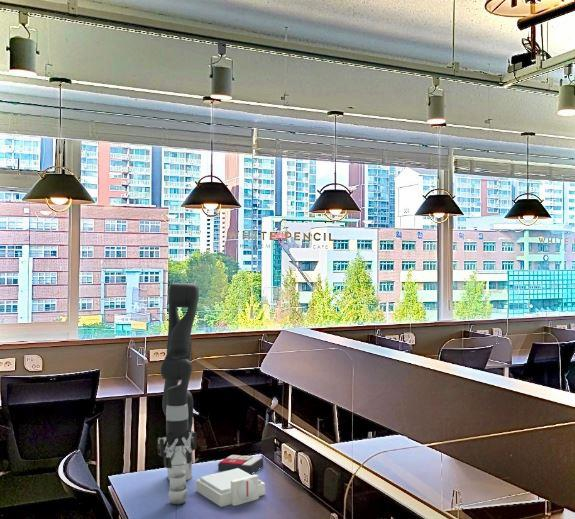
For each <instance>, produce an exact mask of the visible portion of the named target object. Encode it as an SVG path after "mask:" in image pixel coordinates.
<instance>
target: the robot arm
mask: <svg viewBox="0 0 575 519" xmlns="http://www.w3.org/2000/svg"><path fill="white" fill-rule="evenodd" d="M199 294H200V291H199V286H198V284H197V283H196V284H195V283H186V282H171V284H170V285H169V288H168V330H167V343H166V355H165V358H164V359H163V361H162V364H161V366H160V375H161V377H162V379H164V387H163V392H162V393H163V394H162V401H161V402H162V404H161V405H162V411H163V413H164V415H165V417H166V418H165V422H166V423H165V430H166V431H165V432H166V434H165V436H163V437H157V440H156V441H157V455H159V456H160V457H162V458H163V466H164V467H165V468H166V469H167V480H168V481H170V471H169V468H170V455H171V453H172V452H173V449H174V447H175V446H180V445H183V450H182V451H183V453H184V454H185V456H186V458H187V463H186V475H185V479H186V481H188V480H190V479H192V478H193V472H192V471H193V467H192V466H193V463H192V462H193V459H192V458H193V457H192V456H193V453H192V452H193V451H196V450H197V449H198V448H197V446H198V445H197V444H198V443H197V442H198V433H197V432H196V431H193V430H192V427H193V424H194V422H193V421H194V418H193V417H194V398H193V397H194V396H193V395H192V393H191V392H190V391H189V390H188V388H189V383H190V379H191V376H192V372H193V364H192V362H191V358H192V344H193V343H192V339H191V334H192V329H193V325H194V321H195V317H196V312H197V308H198V303H199V296H200V295H199ZM178 308H187V309H186V311H185V314H184V315H183V316H182V317H181V319H180V315H179V311H178ZM180 381H181V382H180ZM179 382H180V383H179ZM165 444H166V445H165ZM164 445H165V446H164Z"/></svg>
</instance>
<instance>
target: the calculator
mask: <svg viewBox="0 0 575 519" xmlns="http://www.w3.org/2000/svg"><path fill="white" fill-rule="evenodd" d="M262 466H264V458H263V457H261V456H259V457H258V456H251V455H240V454H239V455H238V454H231V455H229V456H227V457H226V458H224V459H221V461H219V463H217V467H218V468H217V469H218V471H219V472H224V471H228V470H232V469H236V468H239V469H241V470H243V471H245V472H247V473H248V474H252V473H253V472H255V471H257V470H258V469H259V468H261V467H262ZM262 468H263V467H262ZM262 468H261V469H262ZM259 470H260V469H259ZM259 470H258V471H259ZM258 471H257V472H258ZM255 473H256V472H255ZM252 475H253V474H252Z"/></svg>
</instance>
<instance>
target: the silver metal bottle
mask: <svg viewBox="0 0 575 519" xmlns="http://www.w3.org/2000/svg"><path fill="white" fill-rule="evenodd" d="M182 450H183V445H180V446H175V447H174V449H173V452H172V453H171V455H170V468H169V471H170V480H169V489H168V496H167V497H168V501H169V502H170V504H172V505H182V504H184V503H185V502H186V501H187V500H188V489H187V480H186V479H185V475H186V463H187V458H186V456H185V454H184V453H183V451H182Z"/></svg>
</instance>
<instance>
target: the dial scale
mask: <svg viewBox="0 0 575 519" xmlns="http://www.w3.org/2000/svg"><path fill="white" fill-rule="evenodd" d="M259 478H260V477H259V475H258V474H255V473H254V474H252V475H250V474H248V473H247V472H245V471H243V470H241V469H239V468H236V469H232V470H228V471H219V472H216V473H212V474H207V475H203V476H200V477H199V478H198V479H196V482H195V483H196V485H195V488H196V489H195V490H196V492H197V493H198V494H200V495H202V496H204V497H205V498H206V499H208V500H209V501H211V502H212V503H214V504H215V505H217V506H219V507H226V506H230V505H231V506H234V507H235V506H238V505H242V504H246V503H249V502H253V501H256V500H260V499H259V498H260V497H261V496H265V495H266V483H265V482H263V481H262V480H261V479H259Z"/></svg>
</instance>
